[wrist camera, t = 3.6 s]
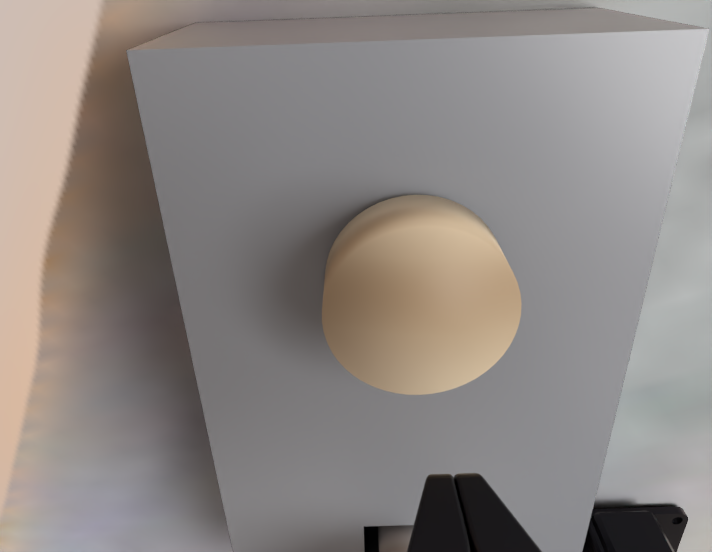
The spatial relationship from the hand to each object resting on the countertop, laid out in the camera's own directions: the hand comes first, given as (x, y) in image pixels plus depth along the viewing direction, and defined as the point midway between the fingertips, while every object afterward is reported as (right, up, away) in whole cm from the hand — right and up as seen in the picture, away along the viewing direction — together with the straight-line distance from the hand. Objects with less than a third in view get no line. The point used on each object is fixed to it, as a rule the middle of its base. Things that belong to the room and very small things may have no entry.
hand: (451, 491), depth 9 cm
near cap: (0, +6, +9) cm, 11 cm away
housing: (0, +2, +13) cm, 13 cm away
